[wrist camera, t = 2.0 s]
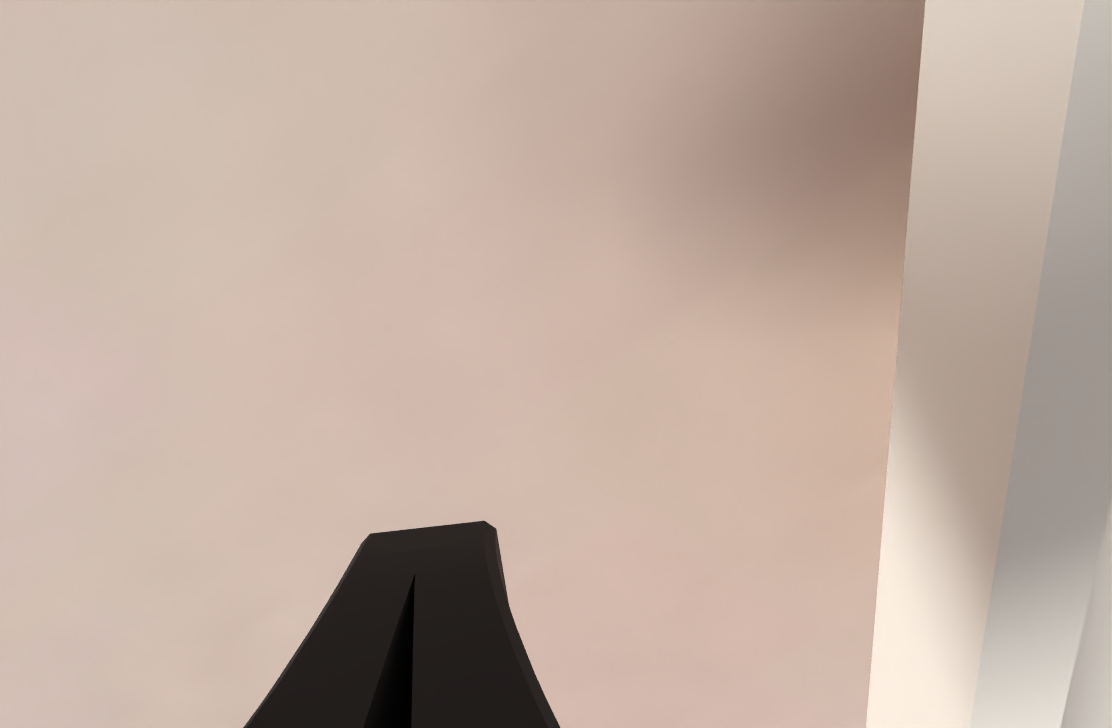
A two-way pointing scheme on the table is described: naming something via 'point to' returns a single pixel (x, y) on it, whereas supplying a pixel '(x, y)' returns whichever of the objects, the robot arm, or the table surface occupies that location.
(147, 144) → the table surface
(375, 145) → the table surface
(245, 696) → the table surface
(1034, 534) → the lid
